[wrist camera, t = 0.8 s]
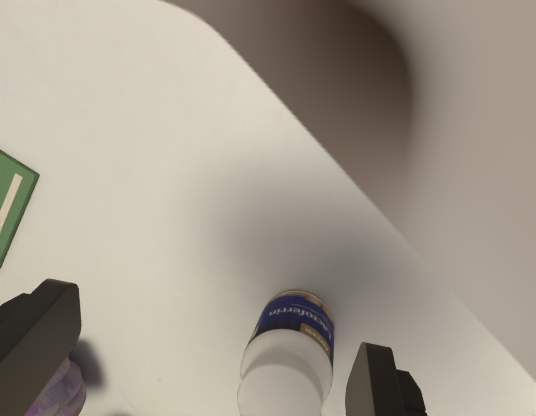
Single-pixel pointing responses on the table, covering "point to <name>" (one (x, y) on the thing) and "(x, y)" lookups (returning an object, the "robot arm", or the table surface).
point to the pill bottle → (288, 358)
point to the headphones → (61, 393)
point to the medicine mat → (13, 197)
